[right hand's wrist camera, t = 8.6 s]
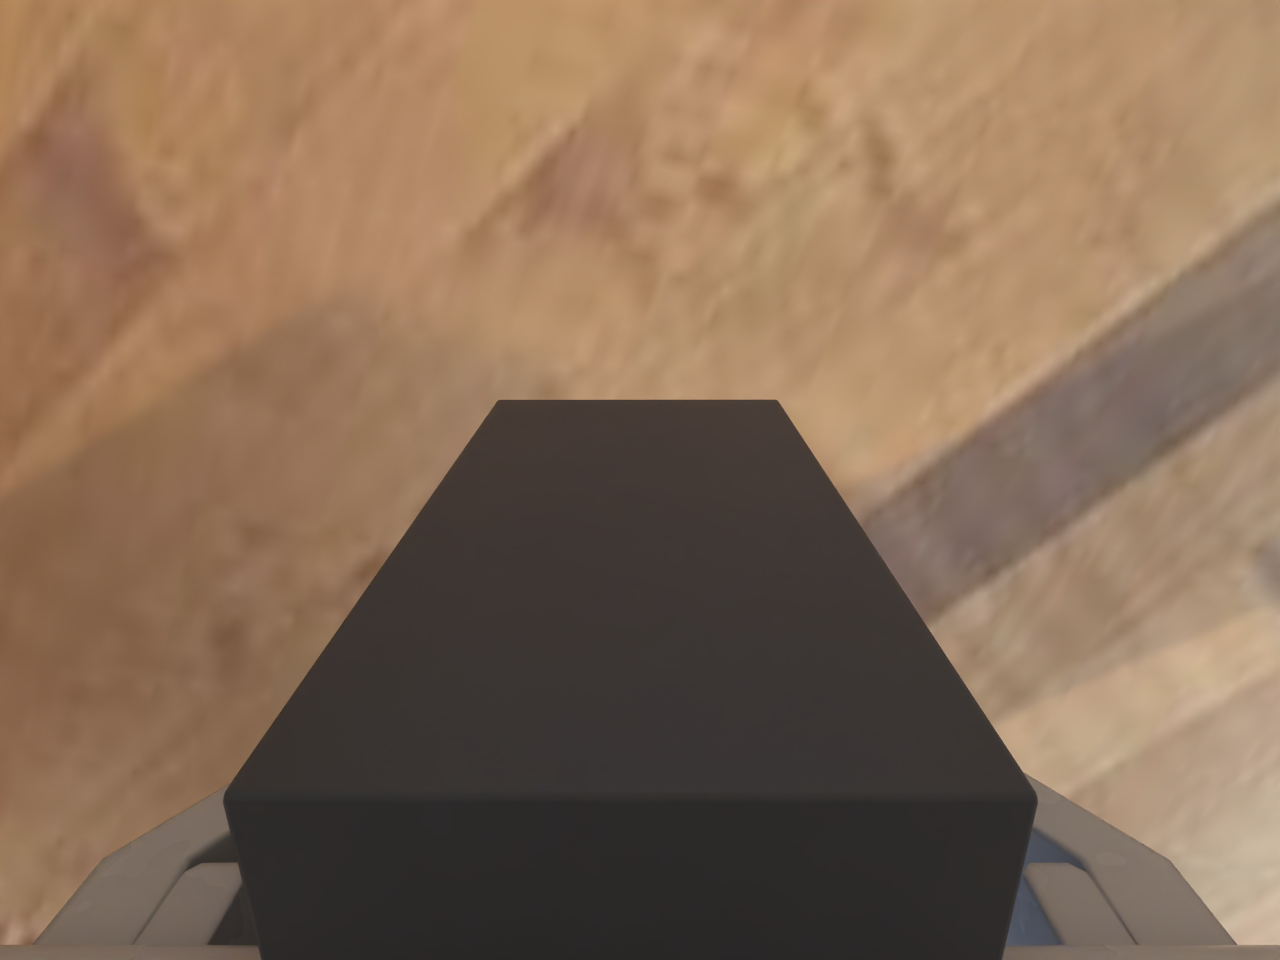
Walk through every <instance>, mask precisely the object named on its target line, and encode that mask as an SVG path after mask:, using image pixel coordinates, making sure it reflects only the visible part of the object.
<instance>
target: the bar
mask: <svg viewBox="0 0 1280 960" xmlns="http://www.w3.org/2000/svg"><path fill="white" fill-rule="evenodd" d="M223 805H224V809H225V813H226V817H227V821H228V825H229V830H230V834H231V838H232V842H233V846H234V850H235V854H236V858H237V862H238V866H239V871H240V875H241V879H242V883H243V887H244V891H245V895H246V899H247V903H248V908H249V912H250V916H251V920H252V924H253V928H254V932H255V936H256V940H257V944H258V949H259V953H260V957H261V960H1002V958H1003V953H1004V949H1005V945H1006V940H1007V936H1008V931H1009V927H1010V923H1011V918H1012V914H1013V910H1014V905H1015V901H1016V897H1017V892H1018V888H1019V884H1020V879H1021V875H1022V870H1023V866H1024V862H1025V857H1026V853H1027V849H1028V844H1029V840H1030V836H1031V831H1032V827H1033V822H1034V818H1035V814H1036V809H1037V805H1038V797H1037V794H1036V791H1035V790H1034V788H1033V787H1032V785H1031V784H1030V782H1029V781H1028V779H1027V778H1026V776H1025V775H1024V773H1023V772H1022V770H1021V769H1020V767H1019V766H1018V764H1017V763H1016V761H1015V760H1014V758H1013V756H1012V755H1011V753H1010V752H1009V750H1008V749H1007V747H1006V746H1005V744H1004V743H1003V741H1002V740H1001V738H1000V737H999V735H998V734H997V732H996V731H995V729H994V728H993V726H992V725H991V723H990V722H989V720H988V719H987V717H986V716H985V714H984V713H983V711H982V709H981V708H980V706H979V705H978V703H977V702H976V700H975V699H974V697H973V696H972V694H971V693H970V691H969V690H968V688H967V687H966V685H965V684H964V682H963V681H962V679H961V678H960V676H959V675H958V673H957V672H956V670H955V669H954V667H953V666H952V664H951V663H950V661H949V659H948V658H947V656H946V655H945V653H944V652H943V650H942V649H941V647H940V646H939V644H938V643H937V641H936V640H935V638H934V637H933V635H932V634H931V632H930V631H929V629H928V628H927V626H926V625H925V623H924V622H923V620H922V619H921V617H920V616H919V614H918V612H917V611H916V609H915V608H914V606H913V605H912V603H911V602H910V600H909V599H908V597H907V596H906V594H905V593H904V591H903V590H902V588H901V587H900V585H899V584H898V582H897V581H896V579H895V578H894V576H893V575H892V573H891V572H890V570H889V569H888V567H887V565H886V564H885V562H884V561H883V559H882V558H881V556H880V555H879V553H878V552H877V550H876V549H875V547H874V546H873V544H872V543H871V541H870V540H869V538H868V537H867V535H866V534H865V532H864V531H863V529H862V528H861V526H860V525H859V523H858V522H857V520H856V518H855V517H854V515H853V514H852V512H851V511H850V509H849V508H848V506H847V505H846V503H845V502H844V500H843V499H842V497H841V496H840V494H839V493H838V491H837V490H836V488H835V487H834V485H833V484H832V482H831V481H830V479H829V478H828V476H827V475H826V473H825V471H824V470H823V468H822V467H821V465H820V464H819V462H818V461H817V459H816V458H815V456H814V455H813V453H812V452H811V450H810V449H809V447H808V446H807V444H806V443H805V441H804V440H803V438H802V437H801V435H800V434H799V432H798V431H797V429H796V428H795V426H794V425H793V423H792V421H791V420H790V418H789V417H788V415H787V414H786V412H785V411H784V409H783V408H782V406H781V405H780V403H779V402H778V401H777V400H499V401H497V403H496V404H495V406H494V407H493V408H492V410H491V411H490V413H489V414H488V416H487V417H486V418H485V420H484V421H483V423H482V424H481V426H480V427H479V428H478V430H477V431H476V433H475V434H474V436H473V437H472V438H471V440H470V441H469V443H468V444H467V446H466V447H465V448H464V450H463V451H462V453H461V454H460V456H459V457H458V459H457V460H456V461H455V463H454V464H453V466H452V467H451V469H450V470H449V471H448V473H447V474H446V476H445V477H444V479H443V480H442V481H441V483H440V484H439V486H438V487H437V489H436V490H435V491H434V493H433V494H432V496H431V497H430V499H429V500H428V501H427V503H426V504H425V506H424V507H423V509H422V510H421V512H420V513H419V514H418V516H417V517H416V519H415V520H414V522H413V523H412V524H411V526H410V527H409V529H408V530H407V532H406V533H405V534H404V536H403V537H402V539H401V540H400V542H399V543H398V544H397V546H396V547H395V549H394V550H393V552H392V553H391V555H390V556H389V557H388V559H387V560H386V562H385V563H384V565H383V566H382V567H381V569H380V570H379V572H378V573H377V575H376V576H375V577H374V579H373V580H372V582H371V583H370V585H369V586H368V587H367V589H366V590H365V592H364V593H363V595H362V596H361V597H360V599H359V600H358V602H357V603H356V605H355V606H354V608H353V609H352V610H351V612H350V613H349V615H348V616H347V618H346V619H345V620H344V622H343V623H342V625H341V626H340V628H339V629H338V630H337V632H336V633H335V635H334V636H333V638H332V639H331V640H330V642H329V643H328V645H327V646H326V648H325V649H324V650H323V652H322V653H321V655H320V656H319V658H318V659H317V661H316V662H315V663H314V665H313V666H312V668H311V669H310V671H309V672H308V673H307V675H306V676H305V678H304V679H303V681H302V682H301V683H300V685H299V686H298V688H297V689H296V691H295V692H294V693H293V695H292V696H291V698H290V699H289V701H288V702H287V704H286V705H285V706H284V708H283V709H282V711H281V712H280V714H279V715H278V716H277V718H276V719H275V721H274V722H273V724H272V725H271V726H270V728H269V729H268V731H267V732H266V734H265V735H264V736H263V738H262V739H261V741H260V742H259V744H258V745H257V746H256V748H255V749H254V751H253V752H252V754H251V755H250V757H249V758H248V759H247V761H246V762H245V764H244V765H243V767H242V768H241V769H240V771H239V772H238V774H237V775H236V777H235V778H234V779H233V781H232V782H231V784H230V785H229V787H228V788H227V789H226V791H225V794H224V797H223Z"/></svg>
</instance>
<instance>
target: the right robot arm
mask: <svg viewBox="0 0 1280 960" xmlns="http://www.w3.org/2000/svg"><path fill="white" fill-rule="evenodd" d="M1023 773H1024V772H1023ZM1024 775H1025V776H1026V778H1027V779H1028V781H1029V782H1030V784H1031V785H1032V787H1033V788H1034V790H1035V791H1036V794H1037V797H1038V805H1037V809H1036V814H1035V818H1034V822H1033V827H1032V831H1031V836H1030V840H1029V844H1028V849H1027V853H1026V857H1025V862H1024V866H1023V870H1022V875H1021V879H1020V884H1019V888H1018V892H1017V897H1016V901H1015V905H1014V910H1013V914H1012V918H1011V923H1010V927H1009V931H1008V936H1007V940H1006V945H1005V949H1004V953H1003V958H1002V960H1280V945H1237V944H1236V943H1235V941H1234V940H1233V939H1232V938H1231V936H1230V935H1229V934H1228V933H1227V931H1226V930H1225V929H1224V928H1223V926H1222V925H1221V924H1220V922H1219V921H1218V920H1217V919H1216V917H1215V916H1214V915H1213V914H1212V912H1211V911H1210V910H1209V909H1208V907H1207V906H1206V905H1205V904H1204V902H1203V901H1202V900H1201V899H1200V897H1199V896H1198V895H1197V894H1196V892H1195V891H1194V890H1193V889H1192V887H1191V886H1190V885H1189V884H1188V882H1187V881H1186V880H1185V879H1184V877H1183V876H1182V875H1181V873H1180V872H1179V871H1178V870H1177V868H1176V867H1175V866H1174V865H1173V863H1172V862H1171V861H1170V860H1168V859H1167V858H1165V857H1163V856H1162V855H1160V854H1159V853H1157V852H1155V851H1154V850H1152V849H1150V848H1149V847H1147V846H1145V845H1144V844H1142V843H1140V842H1139V841H1137V840H1135V839H1134V838H1132V837H1130V836H1129V835H1127V834H1125V833H1124V832H1122V831H1120V830H1119V829H1117V828H1115V827H1114V826H1112V825H1110V824H1109V823H1107V822H1105V821H1104V820H1102V819H1100V818H1099V817H1097V816H1095V815H1094V814H1092V813H1090V812H1089V811H1087V810H1085V809H1084V808H1082V807H1080V806H1079V805H1077V804H1075V803H1074V802H1072V801H1070V800H1069V799H1067V798H1065V797H1064V796H1062V795H1060V794H1059V793H1057V792H1055V791H1054V790H1052V789H1050V788H1049V787H1047V786H1045V785H1044V784H1042V783H1040V782H1039V781H1037V780H1035V779H1034V778H1032V777H1030V776H1029V775H1027V774H1025V773H1024ZM230 784H231V783H230ZM230 784H228V785H226V786H225V787H223V788H221V789H220V790H218V791H216V792H215V793H213V794H211V795H210V796H208V797H206V798H205V799H203V800H201V801H199V802H198V803H196V804H194V805H193V806H191V807H189V808H188V809H186V810H184V811H183V812H181V813H179V814H178V815H176V816H174V817H172V818H171V819H169V820H167V821H166V822H164V823H162V824H161V825H159V826H157V827H156V828H154V829H152V830H151V831H149V832H147V833H145V834H144V835H142V836H140V837H139V838H137V839H135V840H134V841H132V842H130V843H129V844H127V845H125V846H124V847H122V848H120V849H118V850H117V851H115V852H113V853H112V854H110V855H108V856H107V857H105V858H103V859H102V860H101V861H100V862H99V864H98V865H97V866H96V867H95V869H94V870H93V871H92V872H91V873H90V875H89V876H88V877H87V878H86V880H85V881H84V882H83V883H82V884H81V886H80V887H79V888H78V889H77V891H76V892H75V893H74V894H73V895H72V897H71V898H70V899H69V900H68V902H67V903H66V904H65V905H64V907H63V908H62V909H61V910H60V911H59V913H58V914H57V915H56V916H55V918H54V919H53V920H52V921H51V922H50V924H49V925H48V926H47V927H46V929H45V930H44V931H43V932H42V933H41V935H40V936H39V937H38V938H37V940H36V941H35V942H34V943H33V945H0V960H261V957H260V953H259V949H258V944H257V940H256V936H255V932H254V928H253V924H252V920H251V916H250V912H249V908H248V903H247V899H246V895H245V891H244V887H243V883H242V879H241V875H240V871H239V866H238V862H237V858H236V854H235V850H234V846H233V842H232V838H231V834H230V830H229V825H228V821H227V817H226V813H225V809H224V805H223V797H224V794H225V791H226V789H227V788H228V787H229V785H230Z"/></svg>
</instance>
